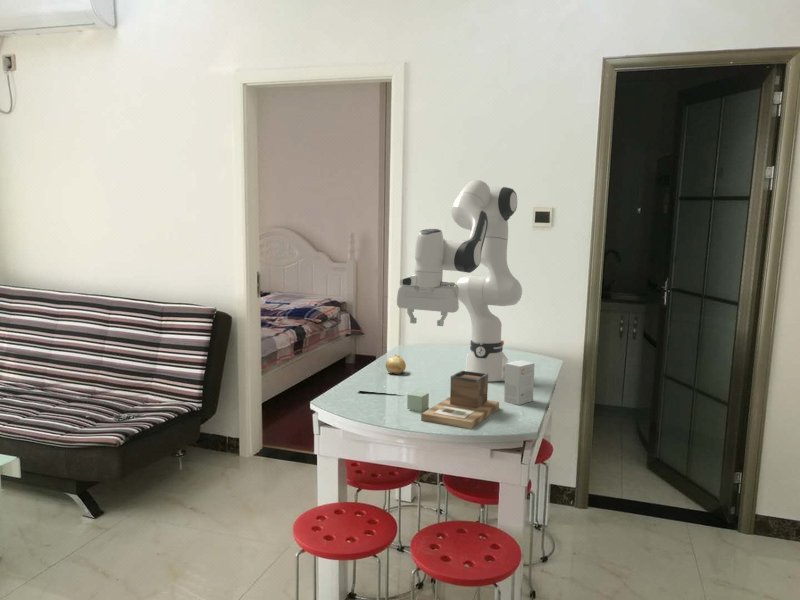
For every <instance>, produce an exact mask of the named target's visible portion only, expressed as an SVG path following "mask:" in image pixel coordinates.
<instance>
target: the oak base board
mask: <svg viewBox="0 0 800 600" xmlns="http://www.w3.org/2000/svg"><path fill="white" fill-rule="evenodd" d="M488 387H489V382H488V374H484V373H476V372H469V371H465V370H460V371H458V372H456V373H455V374H453V375H451V376H450V388H449V389H450V393H449V394H450V396H449V397H447V398H446V399H444V400H442V401H440V402H439V403H437V404H435V405H434V406H432V407H429V408H428V409H426V410H424V411H423V412H421V414H420V419H421V420H420V421H424V422H429V423H430V422H431V423H435V424H441V425H447V426H451V427H458V428H459V427H460V428H464V429H469V430H472V429H473V428H474V427H476V426H477V425H479V424H480V423H481V422H482V421H484V420H485V419H486V418H488V417H489V416H490V415H492V414H493V413H494V412H496V411H497V410H498V409H500V401H495V400H488V391H489V388H488Z"/></svg>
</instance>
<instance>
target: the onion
mask: <svg viewBox="0 0 800 600" xmlns="http://www.w3.org/2000/svg"><path fill="white" fill-rule="evenodd" d="M384 366H385V369H386V371H387V372H390V373H389V374H391V373H397V374H396V375H400V374H401V373H404V372H405V370H406V366H407V365H406V362H405V360H404V359H403V358H402V357H400V354H397V355H396V354H395V355H394V356H392V357H390V358H388V359H387V360H386V362H385V365H384Z"/></svg>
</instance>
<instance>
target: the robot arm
mask: <svg viewBox="0 0 800 600" xmlns="http://www.w3.org/2000/svg"><path fill="white" fill-rule="evenodd" d="M517 207H518V195H517V193H516V191H515V190H514V189H513V188H510V187H507V186H503V187H499V186H498V187H497V186H489V185H488V184H487V183H486V182H485V181H483V180H480V179H474V180H470V181H468V182H467V184H466V185H464V186H463V188H462V189H461V190H460V192H459V193H458V194H457V196H456V197H455V199H454V200H453V203H452V206H451V210H450V213H451V217H452V219H453V220H454V223H456V225H458V226H459V227H460V228H463V229H464V230H465V229H466V230H469V231H470V233H469V236H468V238H467V239H464V240H449V239H448V240H447V239H445V238H444V236H443V231H442V230H441V229H439V228H426V229H421V230H420V231H419V232H418V233H417V236H416V242H415V251H414V252H415V253H414V255H415V256H414V257H415V268H414V274H412V275H409V276H407V277H402V278H400V279H399V284H400V286H399V288H398V290H397V297H396V305H397V307H398V308H399V309H406V311H407V312H406V313H407V315H408V316H409V323H410V324H413V325H415V324H417V320H418V319H417V317H415V315H414V312H415V310H417V311H429V312H440V316H441V317H440V319H438V320H436V325H437V327H444V325H445V324H444V322H445V319H446V318H447V317H448V313H452V314H453V313H457V312H458V311H459V308H460V307H459V306H460V302H461V303H462V304H463V305H464V306H465V308H466V309H467V311H468V315H469V317H470V321H471V340H470V342H469V343H470V345H469V348H470V349H469V350H470V351H469V352H468V353H467V354H466V361H465V370H464V371H469V372H476V373H484V374H488V383H489V382H490V383H491V382H500V381H503V382H505V363H509V361H508V357H507V356H506V354H505V353H504V351H503V350H504V348H503V347H504V345H505V341H504V340H502V327H503V326H502V322H501V319H500V318H499V317H498V316H496V315H495V314H493V313H492V312H491V311H490V309H489V306H495V307H496V306H497V307H506V306H515V305H517V304H518V303H519V302H520V300H521V298H522V295H523V288H522V285H521V283H520V282H519V280H518V279H517V278H515V276H514V275H513V274H512V273H511V271H510V270H511V269H510V268H509V266H508V265H509V264H508V260H507V259H508V258H507V257H508V254H507V253H508V239H509V219H511V217H512V216H513V215H514V213H515V212H516V210H517ZM480 265H482V266H484V267H485V268H487V269H488V271H489V272H488V273H489V274H488V275H478V274H471V275H469V274H470V273H473V272H474V271H475V270H476V269H477V268H478V267H480ZM444 271H451V272H453V271H454V272H460V273H461V272H462V273H467V274H468V273H469V274H468V275H464V276H460V277H459V278H458V279H457V281H456V283H455V282H448V281H443V272H444Z"/></svg>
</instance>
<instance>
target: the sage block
mask: <svg viewBox="0 0 800 600" xmlns="http://www.w3.org/2000/svg"><path fill="white" fill-rule="evenodd" d="M429 395H430V394H429V392H424V391H417V390H414V391H412V392H410V393H408V394H407V398H406V399H407V408H406V410H407V409H410V410H409V411H412V410H415V411H414V412H418V411H420V412H419V413H423V412H425V411H427V410H428V409H429V403H430V402H429V399H430V396H429ZM422 411H423V412H422Z"/></svg>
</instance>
